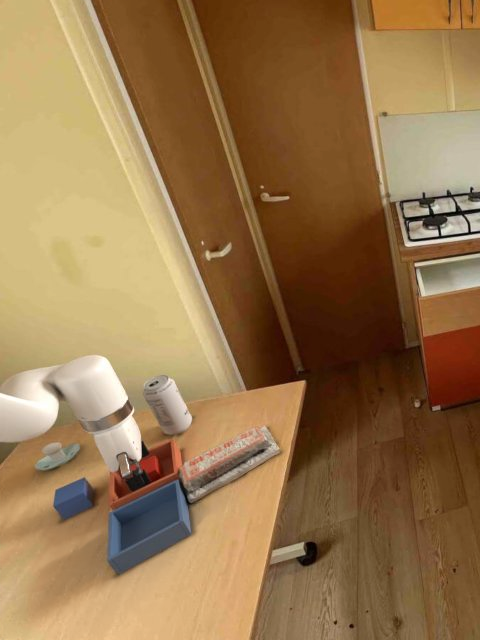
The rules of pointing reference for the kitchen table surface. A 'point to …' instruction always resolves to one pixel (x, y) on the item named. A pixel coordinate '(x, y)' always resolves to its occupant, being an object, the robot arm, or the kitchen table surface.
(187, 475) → the packaged product
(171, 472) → the terracotta bin
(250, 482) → the kitchen table surface
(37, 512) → the kitchen table surface
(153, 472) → the red block
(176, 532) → the blue bin
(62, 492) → the blue block
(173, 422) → the energy drink can
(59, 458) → the pacifier
